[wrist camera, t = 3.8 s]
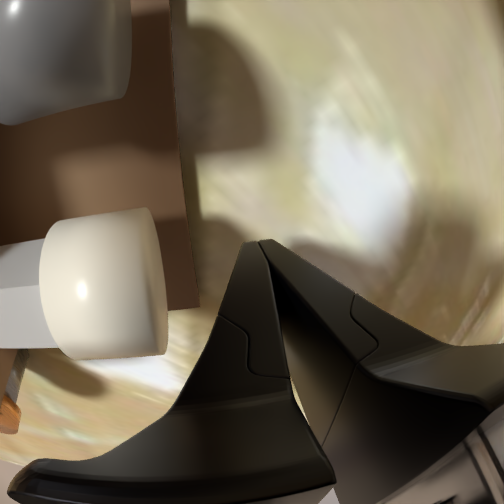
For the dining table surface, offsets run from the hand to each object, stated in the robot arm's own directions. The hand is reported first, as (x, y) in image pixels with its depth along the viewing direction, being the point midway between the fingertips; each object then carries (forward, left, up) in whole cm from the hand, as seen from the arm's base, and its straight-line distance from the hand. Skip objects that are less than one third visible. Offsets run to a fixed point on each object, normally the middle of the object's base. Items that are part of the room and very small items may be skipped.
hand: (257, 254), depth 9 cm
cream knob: (+7, 0, -1) cm, 7 cm away
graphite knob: (+7, -7, -1) cm, 10 cm away
